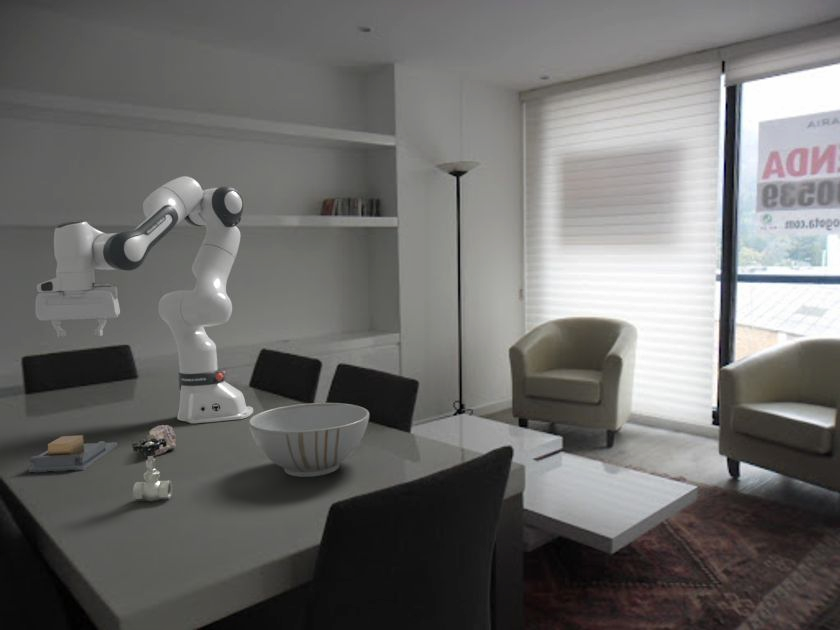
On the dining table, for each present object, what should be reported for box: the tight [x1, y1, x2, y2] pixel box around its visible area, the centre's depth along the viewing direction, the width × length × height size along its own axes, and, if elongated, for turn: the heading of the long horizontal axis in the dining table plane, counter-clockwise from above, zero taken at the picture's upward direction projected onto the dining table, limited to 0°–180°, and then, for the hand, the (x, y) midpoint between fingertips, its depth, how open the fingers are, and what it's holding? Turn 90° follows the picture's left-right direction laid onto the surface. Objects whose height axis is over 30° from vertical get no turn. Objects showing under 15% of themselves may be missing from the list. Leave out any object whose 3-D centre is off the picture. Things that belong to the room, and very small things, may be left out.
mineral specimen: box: [146, 424, 177, 458], centre depth 170 cm, size 13×7×6 cm, turn 20°
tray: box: [28, 440, 119, 474], centre depth 166 cm, size 12×20×4 cm, turn 3°
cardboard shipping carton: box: [47, 434, 85, 456], centre depth 161 cm, size 5×7×5 cm
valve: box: [131, 438, 173, 502], centre depth 134 cm, size 7×7×12 cm
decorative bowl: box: [248, 402, 370, 478], centre depth 151 cm, size 27×27×12 cm
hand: (80, 336), depth 175 cm, fingers open, 8 cm apart
